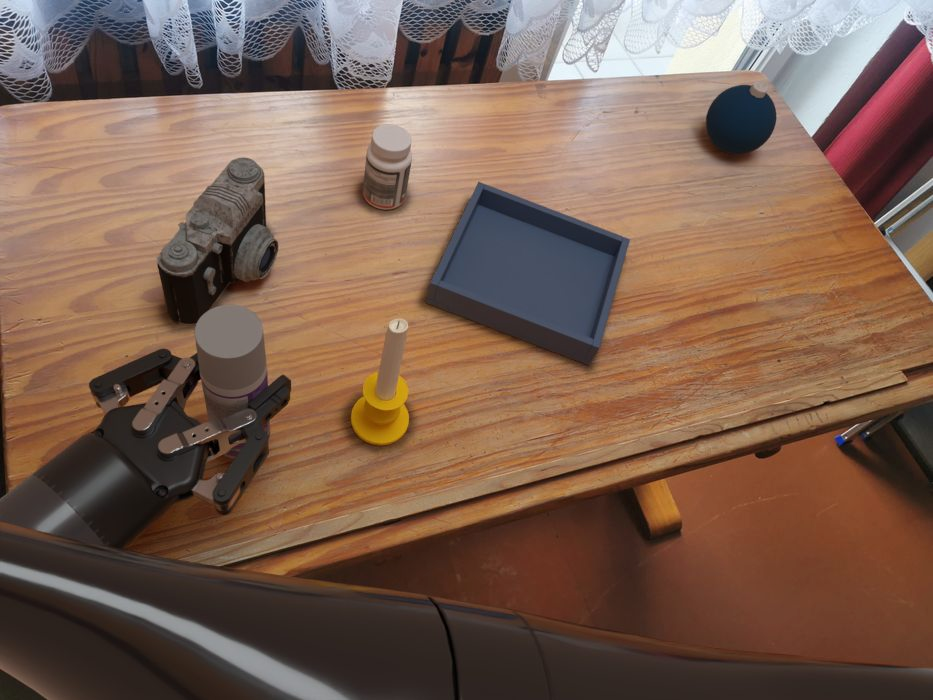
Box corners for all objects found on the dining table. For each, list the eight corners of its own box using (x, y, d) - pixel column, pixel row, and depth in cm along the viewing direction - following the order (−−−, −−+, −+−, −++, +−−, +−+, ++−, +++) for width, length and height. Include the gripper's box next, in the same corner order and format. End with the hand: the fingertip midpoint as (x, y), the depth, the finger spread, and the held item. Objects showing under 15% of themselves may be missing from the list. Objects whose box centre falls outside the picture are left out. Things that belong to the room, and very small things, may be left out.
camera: (225, 343, 71) (217, 276, 63) (159, 315, 72) (142, 244, 63) (299, 237, 80) (301, 165, 72) (239, 212, 80) (234, 138, 72)
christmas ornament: (742, 124, 105) (781, 61, 96) (765, 169, 100) (807, 107, 92) (686, 121, 103) (720, 57, 94) (706, 167, 98) (744, 103, 90)
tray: (619, 258, 87) (630, 238, 84) (588, 366, 78) (599, 348, 75) (472, 202, 87) (478, 181, 84) (425, 302, 78) (430, 282, 76)
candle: (338, 419, 69) (349, 319, 57) (378, 384, 72) (397, 281, 59) (381, 457, 68) (402, 363, 55) (420, 420, 71) (448, 322, 58)
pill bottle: (388, 173, 87) (396, 114, 80) (414, 200, 86) (424, 142, 79) (353, 189, 85) (359, 129, 78) (379, 217, 83) (387, 159, 76)
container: (251, 399, 66) (241, 292, 54) (281, 440, 65) (278, 339, 53) (201, 427, 64) (179, 321, 52) (231, 469, 63) (215, 371, 50)
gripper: (134, 574, 46) (334, 392, 55) (-22, 427, 49) (191, 278, 58) (153, 609, 52) (330, 441, 61) (13, 476, 55) (201, 335, 64)
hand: (261, 362), depth 59 cm, fingers closed on container, 4 cm apart
